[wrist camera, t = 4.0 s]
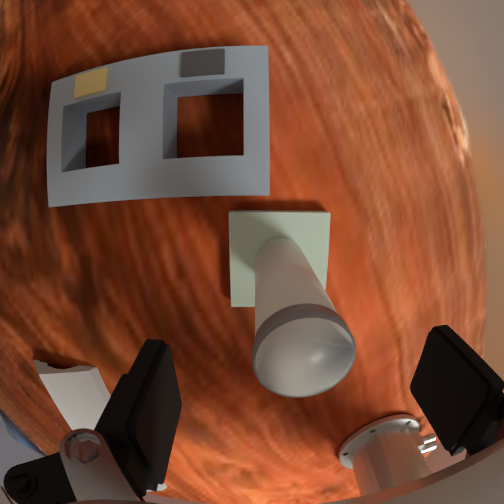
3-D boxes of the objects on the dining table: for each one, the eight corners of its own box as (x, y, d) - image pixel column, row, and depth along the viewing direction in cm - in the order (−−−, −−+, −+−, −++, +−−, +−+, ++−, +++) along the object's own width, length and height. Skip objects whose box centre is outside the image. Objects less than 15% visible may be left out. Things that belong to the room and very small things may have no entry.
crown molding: (168, 484, 36) (164, 499, 33) (110, 474, 37) (105, 487, 33) (97, 363, 29) (84, 380, 25) (33, 356, 29) (20, 369, 26)
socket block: (265, 64, 20) (268, 44, 16) (266, 191, 23) (269, 195, 19) (75, 91, 20) (49, 81, 16) (73, 201, 23) (46, 207, 19)
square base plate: (326, 211, 23) (330, 212, 22) (321, 299, 25) (324, 305, 24) (229, 210, 23) (228, 212, 22) (232, 301, 25) (231, 306, 24)
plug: (306, 236, 23) (363, 312, 10) (303, 285, 24) (346, 393, 11) (253, 236, 23) (252, 316, 10) (253, 286, 24) (252, 398, 11)
